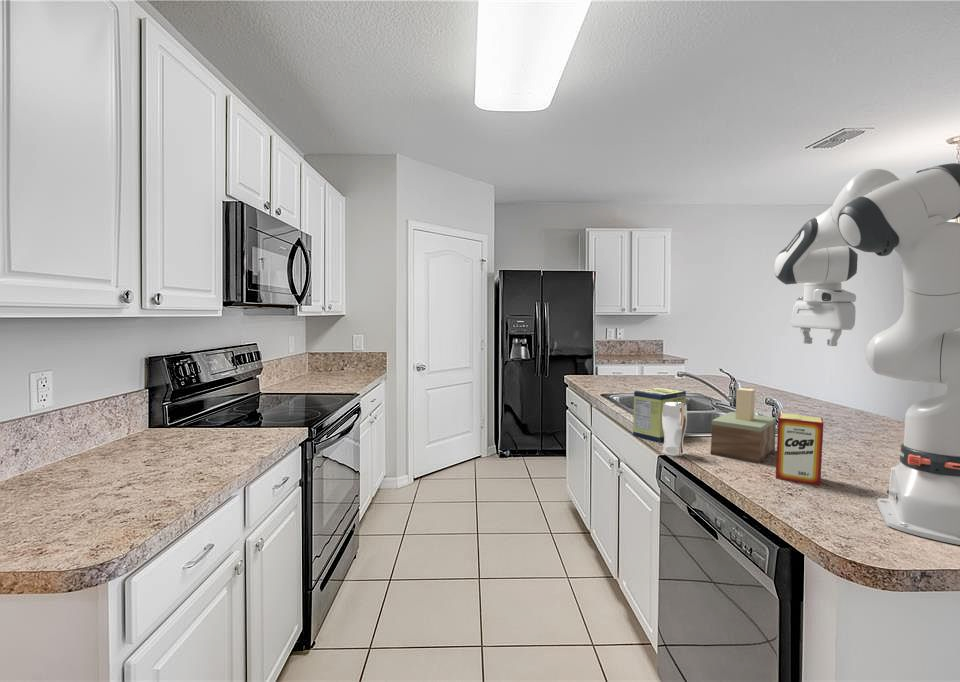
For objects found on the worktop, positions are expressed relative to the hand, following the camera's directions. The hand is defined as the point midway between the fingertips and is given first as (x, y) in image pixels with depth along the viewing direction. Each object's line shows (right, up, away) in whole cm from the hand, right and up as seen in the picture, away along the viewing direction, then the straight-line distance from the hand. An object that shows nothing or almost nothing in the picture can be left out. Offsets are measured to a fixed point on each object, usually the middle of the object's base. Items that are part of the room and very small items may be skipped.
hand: (819, 344), depth 143 cm
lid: (-17, -25, +9) cm, 31 cm away
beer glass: (-39, -33, +7) cm, 51 cm away
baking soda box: (-15, -34, -14) cm, 40 cm away
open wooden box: (-17, -33, +9) cm, 38 cm away
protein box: (-35, -32, +29) cm, 55 cm away
